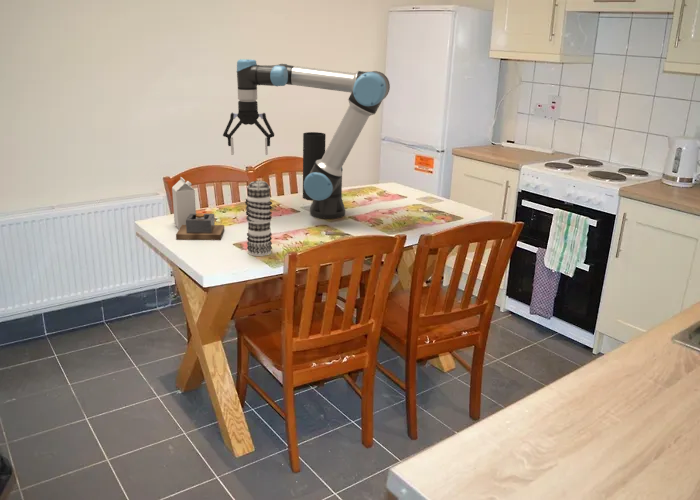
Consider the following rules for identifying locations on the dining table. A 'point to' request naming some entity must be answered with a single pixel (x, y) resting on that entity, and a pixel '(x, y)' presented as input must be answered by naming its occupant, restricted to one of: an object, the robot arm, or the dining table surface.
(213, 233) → the stand
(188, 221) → the dark grey hollow block
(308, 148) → the vase
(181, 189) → the milk carton
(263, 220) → the decorative candle
